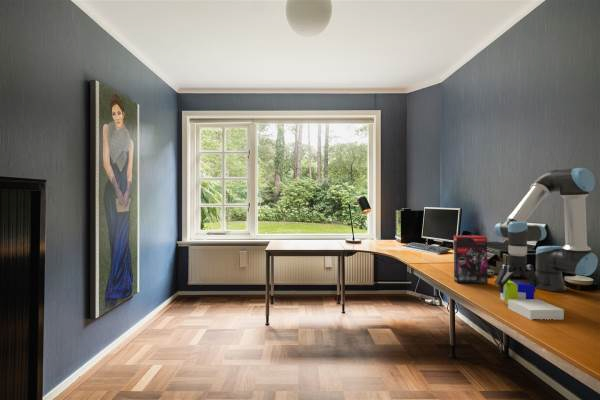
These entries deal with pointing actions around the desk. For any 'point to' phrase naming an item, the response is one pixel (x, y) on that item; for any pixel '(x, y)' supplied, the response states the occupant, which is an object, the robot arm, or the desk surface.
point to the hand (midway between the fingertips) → (516, 299)
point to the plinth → (535, 309)
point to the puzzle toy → (518, 290)
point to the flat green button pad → (490, 272)
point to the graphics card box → (470, 259)
